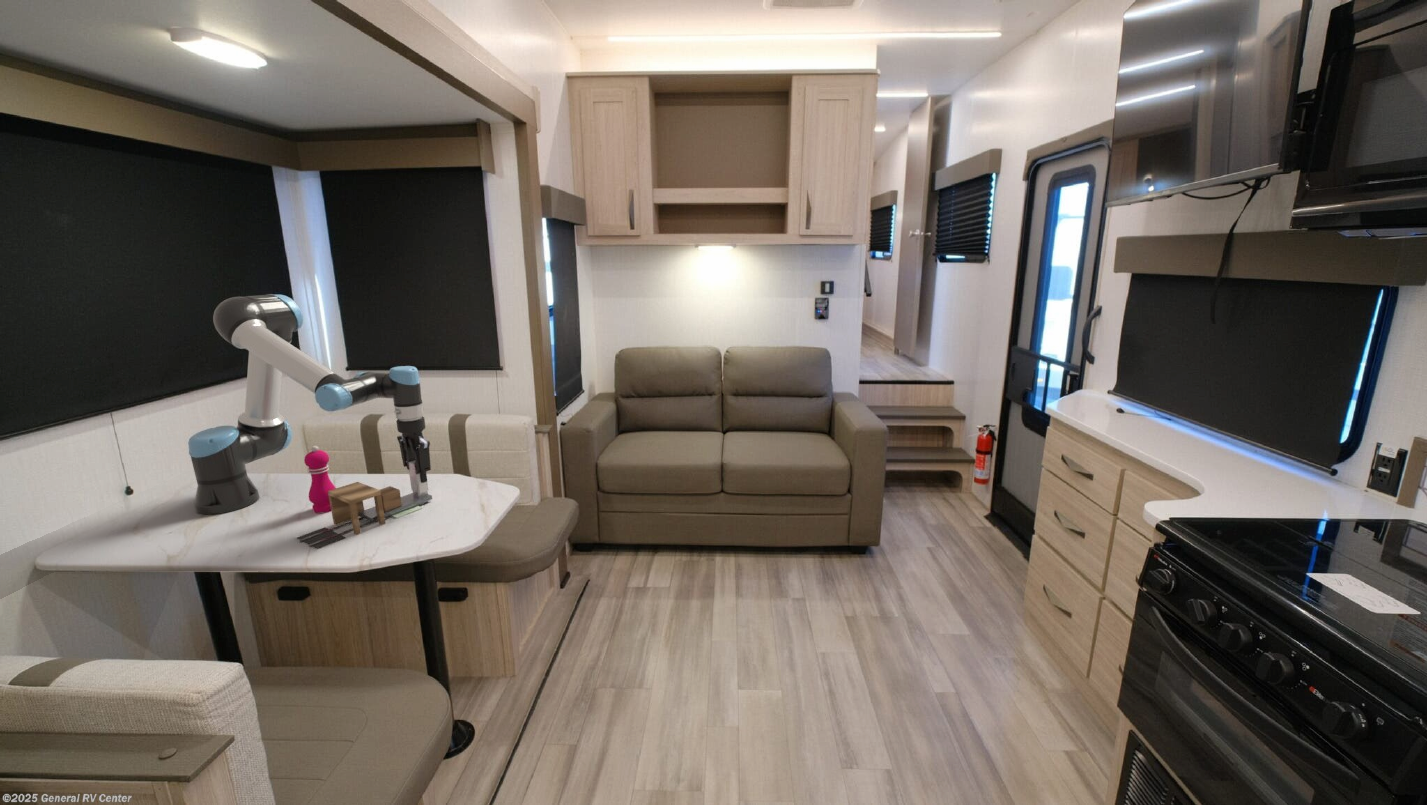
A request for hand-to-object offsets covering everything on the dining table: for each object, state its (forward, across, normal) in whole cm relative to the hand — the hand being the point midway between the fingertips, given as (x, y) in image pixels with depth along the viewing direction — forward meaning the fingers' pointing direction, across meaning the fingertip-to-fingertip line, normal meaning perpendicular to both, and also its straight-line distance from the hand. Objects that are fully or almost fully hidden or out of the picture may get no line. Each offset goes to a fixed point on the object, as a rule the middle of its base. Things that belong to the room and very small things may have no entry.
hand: (420, 490), depth 177 cm
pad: (+4, 0, -7) cm, 8 cm away
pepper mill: (+4, -19, -19) cm, 27 cm away
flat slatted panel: (+4, 0, -29) cm, 29 cm away
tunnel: (+4, 0, -19) cm, 19 cm away
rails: (+4, 0, -17) cm, 17 cm away
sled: (+3, 0, -8) cm, 8 cm away
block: (+2, 0, -10) cm, 10 cm away
